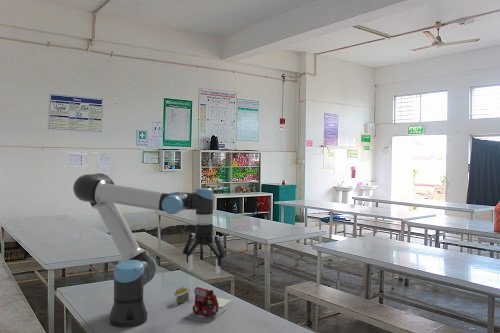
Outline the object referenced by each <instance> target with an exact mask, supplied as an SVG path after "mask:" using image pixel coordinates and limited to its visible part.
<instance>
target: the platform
mask: <svg viewBox="0 0 500 333" xmlns="http://www.w3.org/2000/svg"><path fill="white" fill-rule="evenodd" d="M190 292H192V289H190V288H189V289H188V287H187V286H186V287H185V286H183V287H179V288H177V289H176V290H175V292H174V293H173V296H175V297H176V304H177V305H179V304H181V303H184V302H186V301H189V295H190Z"/></svg>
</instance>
